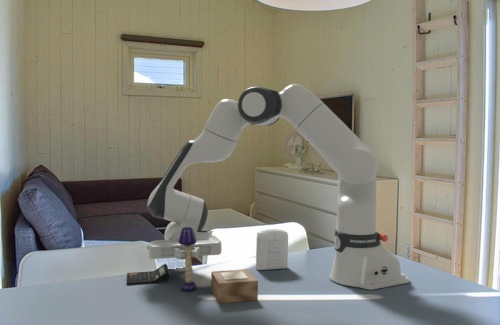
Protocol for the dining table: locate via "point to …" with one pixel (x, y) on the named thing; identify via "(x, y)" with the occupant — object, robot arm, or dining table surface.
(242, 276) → the cardboard box
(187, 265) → the toy lamp
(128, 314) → the dining table surface
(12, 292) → the dining table surface
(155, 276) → the calculator
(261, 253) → the white upright block
